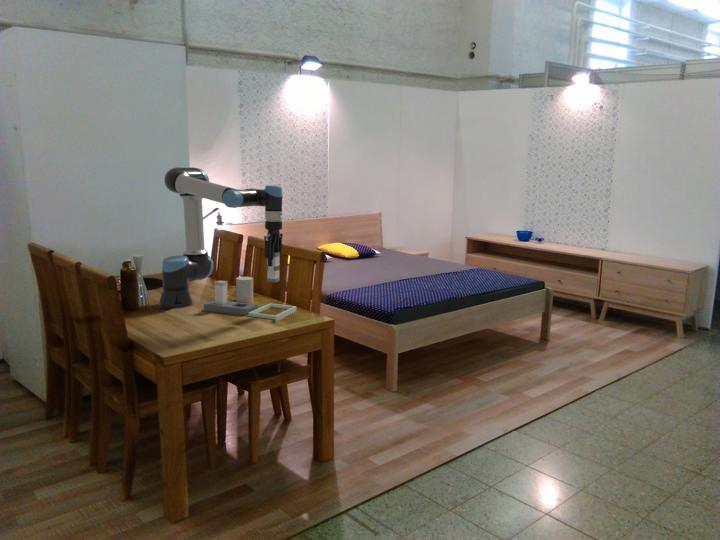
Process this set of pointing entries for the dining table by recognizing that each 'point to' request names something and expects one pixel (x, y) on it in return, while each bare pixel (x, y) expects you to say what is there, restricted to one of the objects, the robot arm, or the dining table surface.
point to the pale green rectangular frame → (276, 317)
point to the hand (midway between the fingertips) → (273, 272)
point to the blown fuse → (274, 276)
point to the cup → (244, 289)
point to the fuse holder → (230, 307)
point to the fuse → (221, 292)
